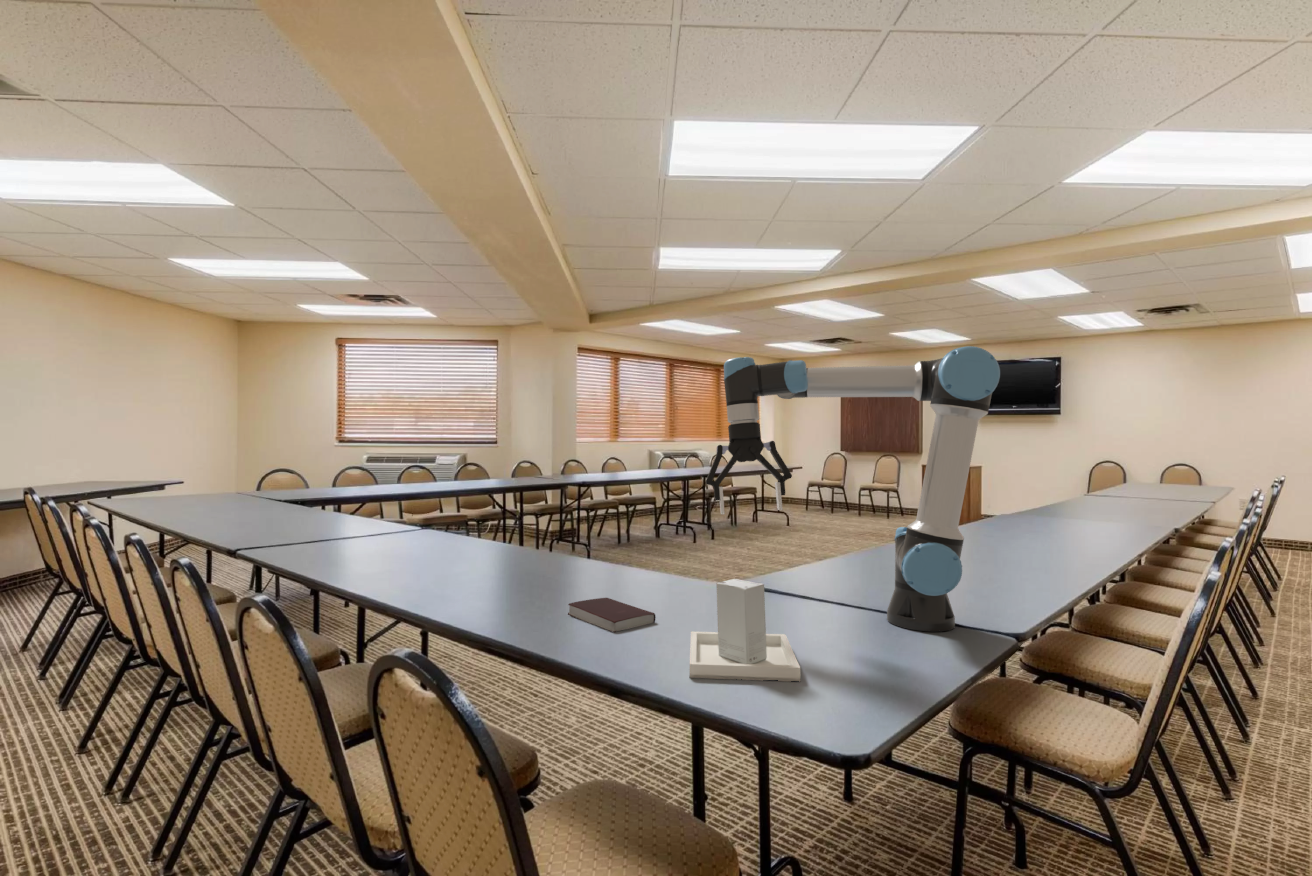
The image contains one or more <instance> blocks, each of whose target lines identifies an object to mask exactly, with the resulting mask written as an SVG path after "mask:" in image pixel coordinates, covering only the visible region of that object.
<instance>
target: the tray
mask: <svg viewBox="0 0 1312 876" xmlns="http://www.w3.org/2000/svg"><path fill="white" fill-rule="evenodd" d="M689 648H690V649H689V675H688V676H689V679H713V680H714V679H715V680H736V679H737V680H741V679H742V681H763V680H778V681H777V682H791V681H799V682H798V683H800V682H801V665H800V664H799V662H798V660H797V657H796V655H795V653H794V651H793V648H792V646H791V644H790V641H789V639H788V637H787V635H786V633H785V634H784V633H766V650H767V658H766V660H764V661H761V662H756V663H752V664H742V663H740V662H737V661H734V660H731V659H728V658H725V657H723V656H719V650H718V631H715V632H714V631H690V646H689Z"/></svg>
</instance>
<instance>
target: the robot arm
mask: <svg viewBox="0 0 1312 876" xmlns="http://www.w3.org/2000/svg"><path fill="white" fill-rule="evenodd" d="M723 376H724V377H723V381H724V382H723V383H724V391H725V393H724V394H725V402H726V415H727V423H729V425H728V428H727V429H728V440H729V444H728V445H721V444H719V445H718V444H717V446H716V455H715V457H714V460H713V462H712V464H711V467H710V470H709V472H708V474H707V477H706V479H705V484H706V485H708V486H712V488H713V494H714V495H713V497H714V499H715V501H719V509H720V510H719V511H720V515H725V512H726V511H725V499H724V489H723V486H721V483H722V482H723V480H724V479H725V478H726V476H727V475H728V474H729V472H730V471H731V470H732V468H733V467H734V465H735V464H736V463H737V462H739V463H745V462H755V461H756V460H757V462H759V463H760V464H761V465H762V466H763V467H764V469H766V470H767V471H768V472H769V473H770V474H771V475H772V476H773V477H774V478H775V479H776V480H777V481H776V482H774V486H775V496H776V508H777V509H776V510H778V511H783V499H782V496H785V495H786V481H787V480H789V479H792V478H793V475H792V473H791V471H790V470H789V468H788V466H787V465H786V463H785V461H784V460H783V458H782V456H781V455H780V453H779V452H778V450H777V446H776V442H775V441H774V440H770V441H768V442H767V441H766V442H763V441H762V436H761V424H760V423H759V422H758V421H759V420H760V413H759V411H760V410H759V401H758V400H759V399H758V397H765V396H777V397H778V398H781V399H783V400H784V399H785V400H790V399H791V400H792V399H795V398H798V399H801V398H906V397H907V398H910V397H911V398H913V399H915V400H916V401H918V402H930V403H929V404H930V405H929V406H930V408H931V409H932V411H934V414H935V417H934V422H933V429H932V434H931V438H930V443H929V444H930V445H929V450H928V455H927V461H926V464H925V471H924V476H923V481H922V485H921V486H922V487H921V491H920V498H919V502H918V508H917V514H916V518H915V520H914V521H912V522H911V523H909V524H908V525H907V526H900V527H897V528H896V530H895V535H894V541H895V543H894V544H895V545H894V546H895V547H894V551H895V552H894V590H893V592H892V596H891V599H890V601H889V604H888V606H887V609H886V621H888V623H890V624H892V625H894V626H898V627H900V628H902V629H903V628H904V629H907V630H912V631H918V632H919V631H921V632H922V631H923V632H947V631H951V630H953V629H955V628H956V627H955V626H956V616H955V613H954V610H953V608H952V604H951V602H950V598H949V595H948V593H950V592H952V591H953V590H954V589H955V588H957V586H958V585H959V583H960V582H961V580H962V579H961V578H962V575H963V565H962V561H961V557H962V551H963V546H964V545H963V544H964V540H965V537H964V536H963V534H962V533H961V531H960V530H959V525H960V519H961V515H962V509H963V503H964V498H965V493H966V488H967V483H968V478H969V472H970V466H971V462H972V456H973V452H974V447H975V441H976V436H977V431H978V426H979V421H980V420H981V419H982V418H984V417H985V416H987V415H988V414H989V409H990V404H991V399H992V395H993V392H994V391H995V390H996V388H997V387H998V384H999V382H1000V378H1001V368H1000V365H999V362H998V361H997V359H996V358H995V356H994V355H993V354H992V353H990V352H989V351H988V350H986V349H984V348H982V347H979V346H973V345H972V346H971V345H968V346H967V345H966V346H960V347H956V348H954V349H952V350H950V351H948V352H947V353H946V354H945V355H944V356H943V357H942V358H937V359H932V360H919V361H917V362H916V363H915V364H914V365H884V366H883V365H876V366H838V367H837V366H832V367H830V366H829V367H826V366H825V367H807V364H806V361H804V360H801V359H800V360H792V359H791V360H790V359H789V360H787V361H779V362H773V363H765V364H756V362H755V360H754V358H753V357H749V356H744V357H742V356H741V357H734V358H730V359H727V360H726V361H725V362H724V364H723ZM764 448H765V449H766V451H768V452H769V453H770V455H771V456H772V458H773V460H774V461H775V463H776V464H777V467H778V468H779V470H780V471H781V472H782V474H781V473H780V472H779V471H778V469H776V468H775V467H774V466H773V465H772V464H771V462H769V461H768V460H767V459H766V457H765V456H763V455H762V454H761V452H763V450H764ZM727 451H728V452H729V454H730V455H731V458H730V459H729V461H728V462H727V464H726V465H725V466H724V468H723V469H722V471H721V472H720V473H719V475H718V476H717V478H716V479H715V480H714V477H715V474H716V472H717V469H718V467H719V465H720V462H721V460H722V457H723V455H725V454H726V452H727Z"/></svg>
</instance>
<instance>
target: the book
mask: <svg viewBox="0 0 1312 876" xmlns="http://www.w3.org/2000/svg"><path fill="white" fill-rule="evenodd" d="M567 606H569V612H567V615H569V616H571V617H572V618H576V619H579V620H581V621H584V622H587V623H590V624H591V625H594V626H598V627H600V628H602V629H604V630H608V631H610V632H612V633H616V632H620V631H623V630H628V629H632V628H637V627H641V626H645V625H649V624H654V623H655V622H656V613H654V612H652V611H649V610H646V609H643V608H639V607H636V606H633V605H630V604H627V603H624V602H621V601H619V600H616V599H613V598H610V597H599V598H592V599H590V598H589V599H584V600H580V601H573V602H570V603H568V605H567Z"/></svg>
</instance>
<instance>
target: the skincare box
mask: <svg viewBox="0 0 1312 876" xmlns="http://www.w3.org/2000/svg"><path fill="white" fill-rule="evenodd" d="M765 600H766V598H765V584H764V583H759V582H753V581H748V580H743V579H738V578H732V579H728V580H723V581H719V582H717V583H716V607H717V609H716V610H717V611H716V612H717V613H716V615H717V632H718V650H719V656H723V657H725V658H728V659H731V660H734V661H737V662H740V663H742V664H752V663H756V662H761V661H764V660H766V658H767V650H766V634H767V632H766V631H767V627H766V603H765V602H766V601H765Z"/></svg>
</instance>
